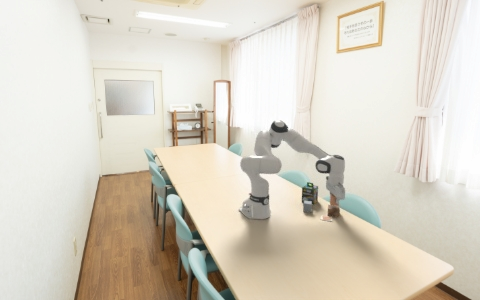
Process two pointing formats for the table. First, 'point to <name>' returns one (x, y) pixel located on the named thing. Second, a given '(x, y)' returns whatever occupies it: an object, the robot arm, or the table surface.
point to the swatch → (326, 218)
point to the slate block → (307, 206)
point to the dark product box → (310, 193)
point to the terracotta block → (333, 200)
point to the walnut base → (333, 210)
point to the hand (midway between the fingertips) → (334, 200)
